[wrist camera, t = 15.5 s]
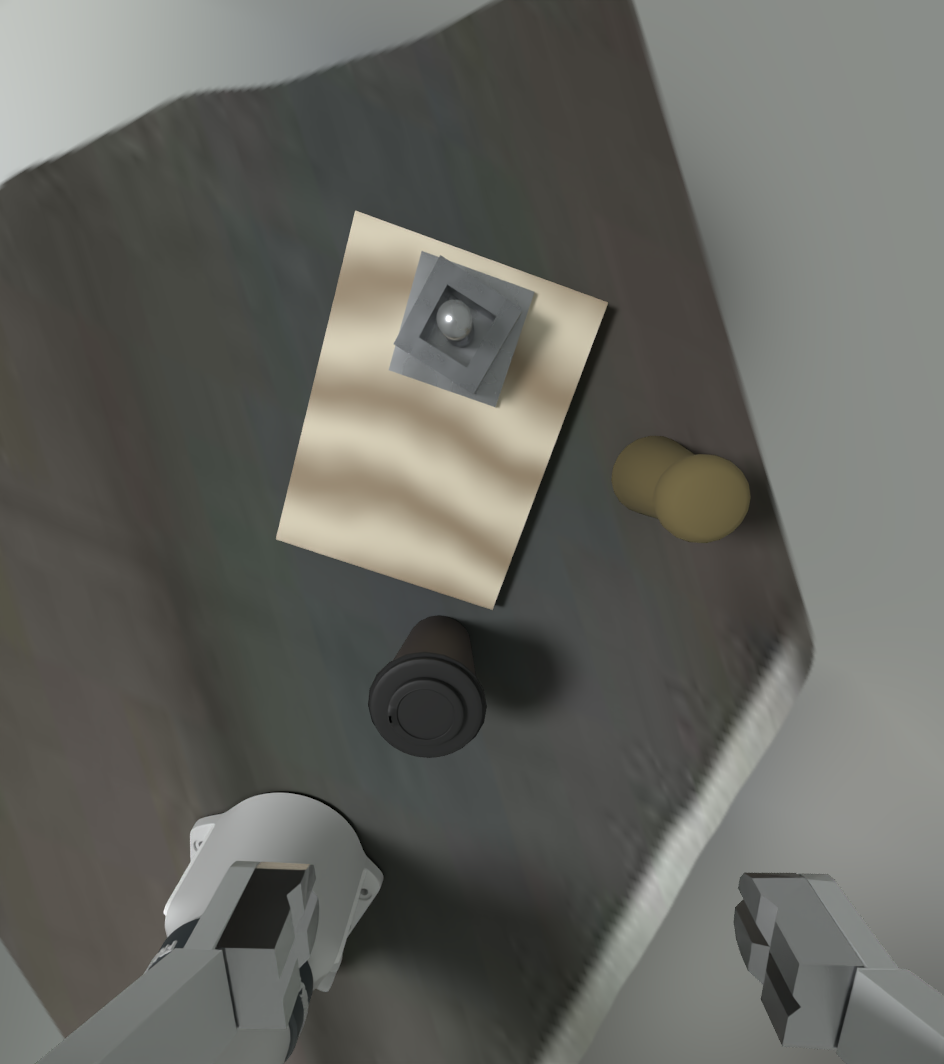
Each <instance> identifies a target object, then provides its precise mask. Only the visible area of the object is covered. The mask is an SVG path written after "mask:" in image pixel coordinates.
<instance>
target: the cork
mask: <svg viewBox="0 0 944 1064" xmlns="http://www.w3.org/2000/svg"><path fill="white" fill-rule="evenodd" d="M612 484H613V489H614V492H615V494H616V496H617V497H618V499H619V501H620V502H621V503H622V504H623V505H625V506H626V507H627V508H628V509H630V510H632V511H635V512H638V513H640V514H644V515H647V516H650V517H654V518H657V519H659V521H660V522H661V524H662V526H663V527H664V528H666V529H667V530H668V531H669V532H670V533H672V534H673V535H674V536H675V537H677V538H680V539H682V540H685V541H688V542H697V543H708V542H712V541H716V540H720V539H722V538H723V537H725V536H727V535H729V534H730V533H732V532H733V531H734V530H735V529H736V528H737V527H738V526H739V525H740V524H741V523H742V521H743V519H744V517H745V515H746V514H747V512H748V509H749V503H750V498H751V496H750V489H749V483H748V482H747V480H746V478H745V476H744V474H743V472H742V471H741V470H740V469H739V468H737V467H736V466H735V465H734V464H733V463H732V462H731V461H729V460H727V459H724V458H721V457H719V456H716V455H706V454H697V455H694V454H693V453H691V452H690V451H689V450H687V449H686V448H684V447H683V446H681V445H680V444H678V443H677V442H676V441H674V440H671V439H669V438H666V437H663V436H648V437H644V438H641V439H638V440H636V441H634V442H633V443H631V444H630V445H628V446H627V447H626V448H625V449H624V450H623V451H622V452H621V453H620V455H619V456H618V458H617V460H616V462H615V464H614V467H613V472H612Z"/></svg>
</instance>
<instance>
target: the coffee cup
mask: <svg viewBox="0 0 944 1064" xmlns="http://www.w3.org/2000/svg"><path fill="white" fill-rule="evenodd" d="M368 707H369V711H370V715H371V719H372V722H373V723H374V725H375V726H376V728H377V730H378V732H379V733H380V734H381V736H382V737H383V738H384V739H385V740H386V741H387V742H388V743H389V744H391V745H392V746H393V747H395V748H396V749H398V750H400V751H402V752H404V753H407V754H410V755H413V756H418V757H427V758H431V757H440V756H445V755H448V754H451V753H453V752H455V751H457V750H459V749H461V748H463V747H464V746H465V745H466V744H467V743H469V742H470V741H471V740H472V739H473V738H474V737H476V735H477V733H478V732H479V730H480V728H481V726H482V725H483V723H484V719H485V713H486V708H487V705H486V699H485V694H484V689H483V688H482V686H481V684H480V682H479V681H478V679H477V677H476V674H475V667H474V661H473V654H472V648H471V642H470V636H469V634H468V633H467V631H466V629H465V627H463V626H462V625H461V624H460V623H459V622H458V621H456V620H454V619H452V618H450V617H445V616H432V617H428V618H426V619H424V620H421V621H420V622H419V623H418V624H417V625H416V626H415V627H414V628H413V629H412V631H411V632H410V634H409V636H408V637H407V639H406V640H405V642H404V644H403V645H402V647H401V648H400V650H399V652H398V653H397V655H396V656H395V658H394V660H393V661H391V662H389V663H388V664H387V665H386V666H385V667H384V668H383V669H382V670H381V671H380V672H379V673H378V674H377V675H376V677H375V679H374V681H373V683H372V685H371V687H370V691H369V701H368Z"/></svg>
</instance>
